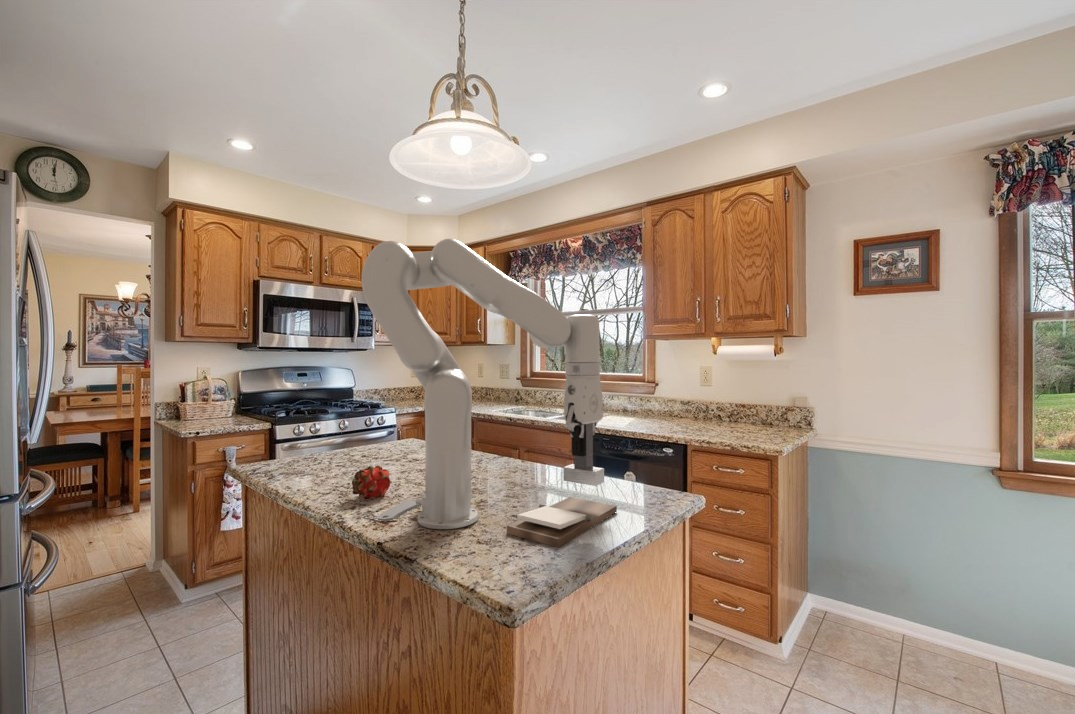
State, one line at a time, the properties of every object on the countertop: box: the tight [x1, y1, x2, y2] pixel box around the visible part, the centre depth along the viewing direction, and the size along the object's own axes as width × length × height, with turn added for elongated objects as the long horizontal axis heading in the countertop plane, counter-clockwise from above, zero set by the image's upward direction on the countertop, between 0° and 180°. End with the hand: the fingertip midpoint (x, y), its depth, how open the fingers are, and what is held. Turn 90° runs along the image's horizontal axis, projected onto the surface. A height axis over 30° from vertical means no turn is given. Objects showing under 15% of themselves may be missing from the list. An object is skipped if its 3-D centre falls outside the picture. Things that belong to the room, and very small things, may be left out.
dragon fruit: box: [351, 465, 393, 501], centre depth 117 cm, size 8×8×12 cm
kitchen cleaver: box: [373, 498, 422, 521], centre depth 111 cm, size 24×1×10 cm
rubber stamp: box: [563, 420, 605, 487], centre depth 105 cm, size 4×8×14 cm, turn 55°
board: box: [506, 496, 618, 548], centre depth 99 cm, size 13×24×3 cm, turn 145°
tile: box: [516, 505, 586, 529], centre depth 95 cm, size 10×10×1 cm
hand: (583, 453), depth 105 cm, fingers closed on rubber stamp, 3 cm apart
